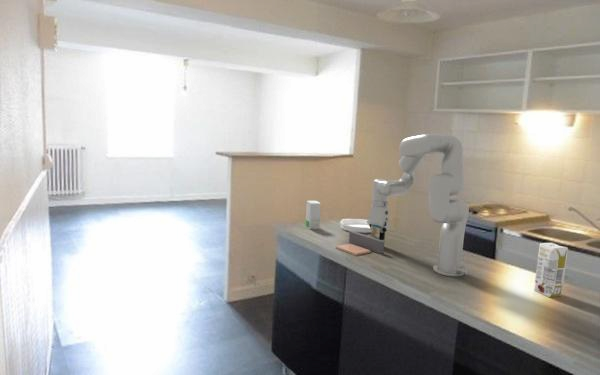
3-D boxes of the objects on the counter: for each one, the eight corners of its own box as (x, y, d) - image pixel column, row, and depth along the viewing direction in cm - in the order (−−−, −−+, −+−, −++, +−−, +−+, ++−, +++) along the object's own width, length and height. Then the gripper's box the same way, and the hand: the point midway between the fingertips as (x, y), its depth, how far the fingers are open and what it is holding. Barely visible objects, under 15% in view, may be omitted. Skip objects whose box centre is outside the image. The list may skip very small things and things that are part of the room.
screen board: (383, 253, 206) (384, 241, 205) (380, 253, 205) (381, 241, 204) (351, 242, 223) (352, 231, 223) (348, 242, 222) (349, 231, 221)
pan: (359, 222, 273) (360, 216, 272) (390, 232, 250) (391, 225, 250) (329, 225, 259) (329, 219, 259) (358, 236, 237) (359, 229, 237)
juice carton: (548, 298, 158) (555, 248, 155) (530, 289, 166) (536, 242, 163) (564, 297, 160) (571, 248, 157) (545, 288, 168) (552, 241, 165)
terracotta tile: (370, 252, 206) (370, 250, 206) (355, 255, 200) (355, 253, 200) (350, 245, 217) (350, 243, 217) (335, 248, 211) (335, 246, 211)
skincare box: (305, 226, 255) (306, 200, 253) (315, 225, 257) (316, 200, 255) (309, 229, 247) (310, 203, 245) (320, 229, 249) (321, 202, 247)
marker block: (384, 243, 218) (385, 226, 217) (377, 244, 215) (378, 227, 214) (377, 241, 222) (378, 224, 221) (370, 242, 219) (371, 225, 218)
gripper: (397, 205, 211) (395, 241, 214) (372, 200, 225) (370, 234, 227) (387, 206, 207) (385, 243, 209) (362, 201, 220) (360, 236, 223)
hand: (377, 238), depth 218 cm, fingers closed on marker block, 5 cm apart
